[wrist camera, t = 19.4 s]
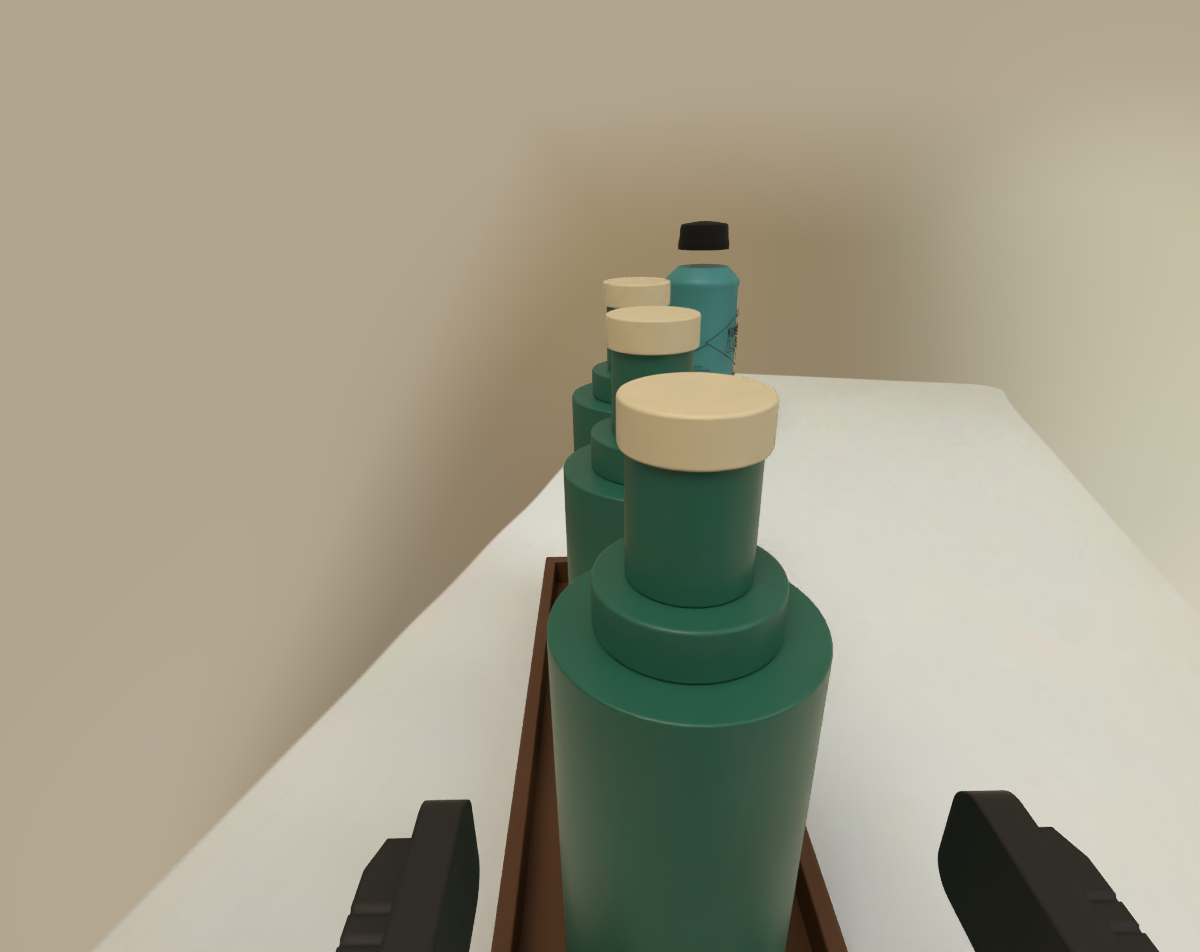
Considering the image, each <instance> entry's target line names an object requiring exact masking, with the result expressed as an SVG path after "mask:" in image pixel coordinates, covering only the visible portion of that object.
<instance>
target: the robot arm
mask: <svg viewBox="0 0 1200 952" xmlns="http://www.w3.org/2000/svg"><path fill="white" fill-rule="evenodd" d="M938 867H939V873H940V877H941V881H942V884H943V887H944V890H945V893H946V895H947V897H948V899H949V901H950V903H951V905H952V907H953V909H954V911H955V913H956V915H957V917H958V919H959V921H960V923H961V925H962V926H963V928H964V930H965V932H966V934H967V936H968V938H969V940H970V942H971V944H972V946H973V948H974V950H975V952H1159V951H1158V950H1157V948H1156V947H1155V946H1154V944H1153V943H1152V942H1151V940H1150V939H1149V938H1148V936H1147V935H1146V934H1145V933H1142V932H1141V931H1140V929H1139V924H1138V923H1137V922H1136V920H1135V919H1134V918H1133V916H1132V915H1131V914H1130V912H1129V911H1128V910H1127V908H1126V907H1125V906H1124V904H1123V903H1122V902H1119V901H1118V900H1117V899H1116V894H1115V892H1114V891H1113V890H1112V888H1111V887H1110V886H1109V884H1108V883H1107V882H1106V881H1105V879H1104V878H1103V877H1102V875H1101V874H1100V873H1099V871H1098V870H1097V869H1096V867H1095V866H1094V865H1093V863H1092V862H1091V861H1090V859H1089V858H1088V857H1087V856H1086V855H1084V854H1083V853H1082V852H1081V851H1080V850H1079V849H1077V848H1076V847H1075V846H1074V845H1073V844H1071V843H1070V842H1069V841H1068V840H1067V839H1066V838H1064V837H1063V836H1062V835H1061V834H1060V833H1058V832H1057V831H1056V830H1055V829H1054V828H1053V827H1038V826H1037V824H1036V823H1035V821H1034V820H1033V819H1032V817H1031V816H1030V814H1029V813H1028V812H1027V810H1026V809H1025V807H1024V806H1023V804H1022V803H1021V802H1020V801H1019V799H1018V798H1017V797H1016V796H1015V795H1013V794H1012V793H1011V792H1009V791H1005V790H999V791H960V792H958V793H956V795H955V796H954V799H953V802H952V806H951V809H950V813H949V816H948V820H947V823H946V827H945V830H944V834H943V837H942V841H941V844H940V848H939V852H938ZM479 872H480V869H479V855H478V848H477V841H476V834H475V827H474V819H473V812H472V806H471V802H470V800H426V801H424V802H423V803H422V805H421V807H420V810H419V813H418V817H417V820H416V824H415V827H414V830H413V834H412V837H411V838H396V839H387V840H386V841H385V843H384V844H383V845H382V847H381V848H380V849H379V851H378V852H377V853H376V855H375V856H374V857H373V859H372V860H371V861H370V863H369V864H368V865H367V867H366V868H365V869H364V871H363V874H362V877H361V880H360V883H359V886H358V889H357V891H356V894H355V897H354V900H353V903H352V906H351V913H350V915H348V918H347V920H346V923H345V926H344V929H343V932H342V935H341V938H340V945H339V947H337V949H336V952H469V949H470V943H471V937H472V931H473V925H474V919H475V913H476V907H477V900H478V891H479Z"/></svg>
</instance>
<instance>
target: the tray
mask: <svg viewBox="0 0 1200 952" xmlns="http://www.w3.org/2000/svg"><path fill="white" fill-rule="evenodd" d="M568 585H569V580H568V557H547V558H546V563H545V570H544V577H543V584H542V591H541V599H540V606H539V613H538V620H537V627H536V634H535V642H534V649H533V656H532V663H531V670H530V677H529V684H528V692H527V699H526V706H525V713H524V720H523V727H522V734H521V742H520V749H519V756H518V763H517V770H516V777H515V784H514V792H513V799H512V806H511V813H510V820H509V827H508V834H507V842H506V849H505V856H504V863H503V870H502V877H501V884H500V892H499V899H498V906H497V913H496V920H495V927H494V934H493V942H492V949H491V952H567V951H566V935H565V919H564V903H563V887H562V871H561V856H560V840H559V824H558V808H557V792H556V776H555V760H554V744H553V729H552V713H551V697H550V681H549V665H548V649H547V622H548V618H549V614H550V612H551V609H552V607H553V605H554V603H555V601H556V600H557V598H558V597H559V595H560V594H561V592H562V591H563V590H564V589H565V588H566V587H567V586H568ZM785 952H848V951H847V948H846V945H845V942H844V939H843V936H842V933H841V930H840V927H839V924H838V921H837V918H836V915H835V912H834V909H833V906H832V903H831V900H830V897H829V894H828V891H827V888H826V885H825V882H824V879H823V876H822V873H821V870H820V867H819V864H818V861H817V858H816V855H815V852H814V849H813V846H812V843H811V840H810V837H809V834H808V831H807V828H806V825H805V831H804V837H803V843H802V849H801V855H800V862H799V868H798V874H797V880H796V886H795V892H794V899H793V905H792V911H791V917H790V923H789V930H788V936H787V942H786V948H785Z"/></svg>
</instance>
